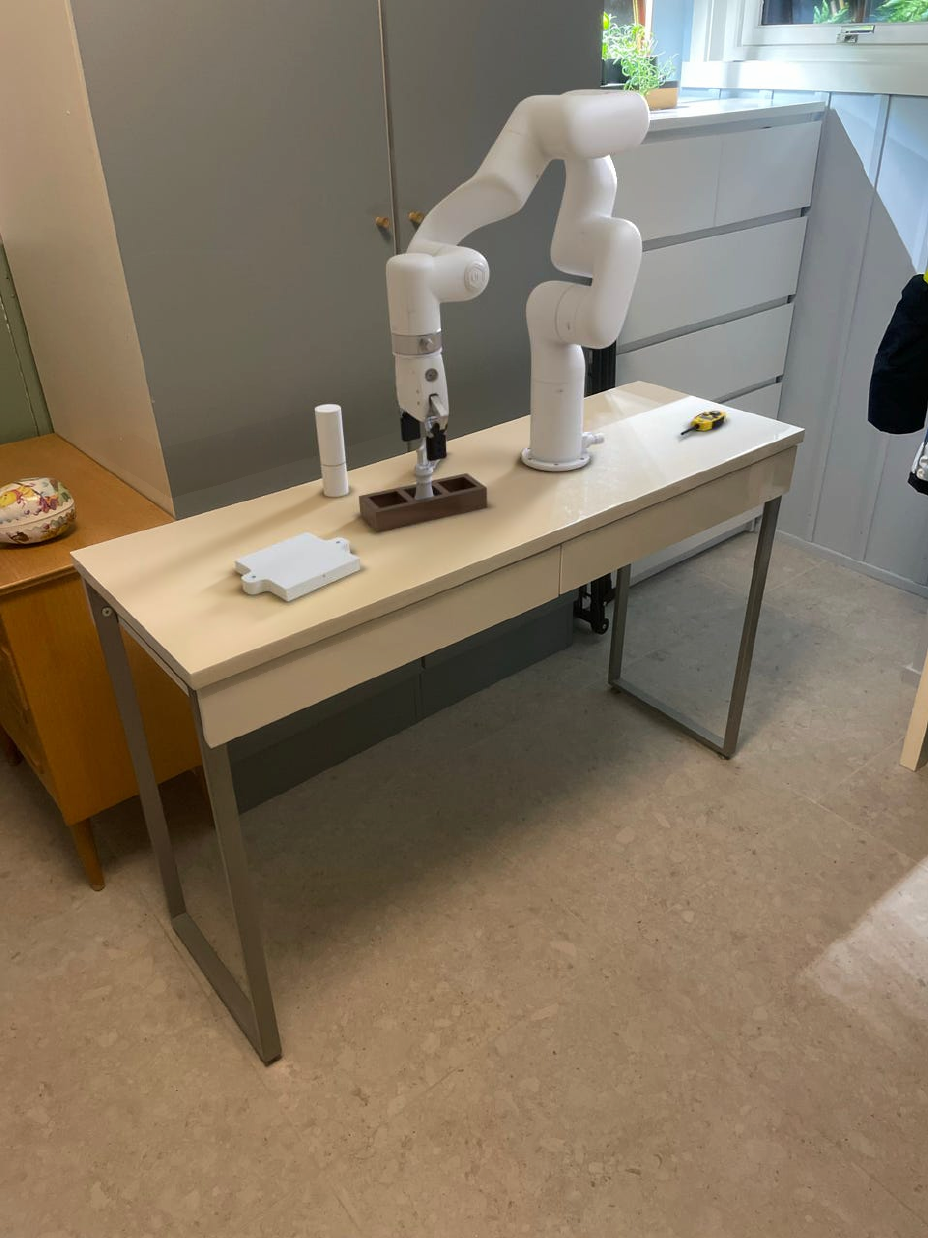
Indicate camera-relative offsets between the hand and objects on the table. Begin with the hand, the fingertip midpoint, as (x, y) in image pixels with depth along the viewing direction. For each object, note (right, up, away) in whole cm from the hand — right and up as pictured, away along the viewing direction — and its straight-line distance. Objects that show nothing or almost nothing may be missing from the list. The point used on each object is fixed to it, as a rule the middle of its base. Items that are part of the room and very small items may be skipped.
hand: (423, 449), depth 148 cm
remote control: (+54, +11, +37) cm, 66 cm away
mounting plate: (-18, -20, -12) cm, 30 cm away
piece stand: (0, -9, +5) cm, 11 cm away
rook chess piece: (0, -9, +5) cm, 11 cm away
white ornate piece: (+1, +1, +23) cm, 23 cm away
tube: (-16, -5, +13) cm, 21 cm away
